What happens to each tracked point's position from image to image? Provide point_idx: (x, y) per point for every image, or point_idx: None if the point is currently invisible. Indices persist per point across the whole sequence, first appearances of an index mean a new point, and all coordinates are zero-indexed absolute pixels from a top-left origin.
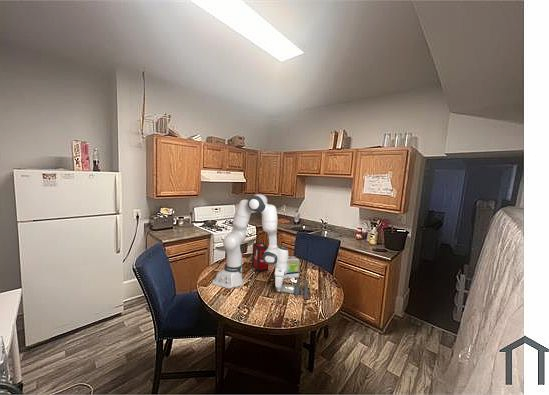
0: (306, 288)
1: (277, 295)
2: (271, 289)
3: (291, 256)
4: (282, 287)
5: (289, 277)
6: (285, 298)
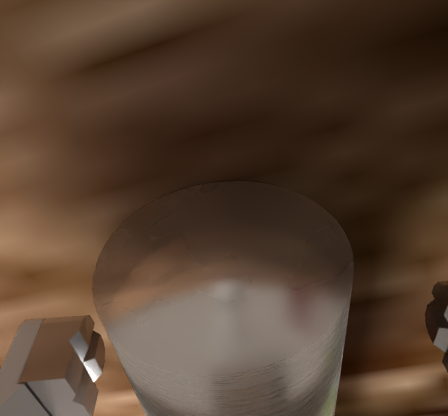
0: None
1: (3, 262)
2: (210, 25)
3: None
4: None
5: None
6: None
